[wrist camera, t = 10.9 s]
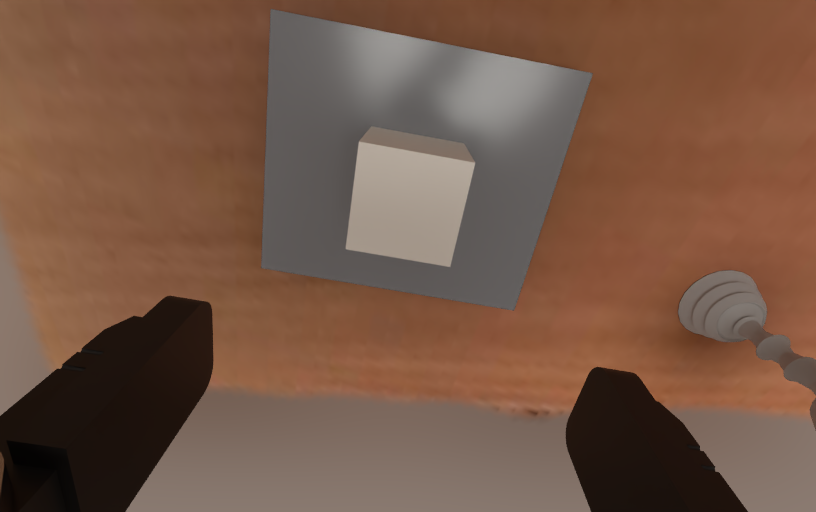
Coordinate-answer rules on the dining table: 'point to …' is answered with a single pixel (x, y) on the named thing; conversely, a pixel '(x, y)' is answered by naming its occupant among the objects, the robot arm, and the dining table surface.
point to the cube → (408, 196)
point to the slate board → (416, 114)
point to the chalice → (742, 323)
